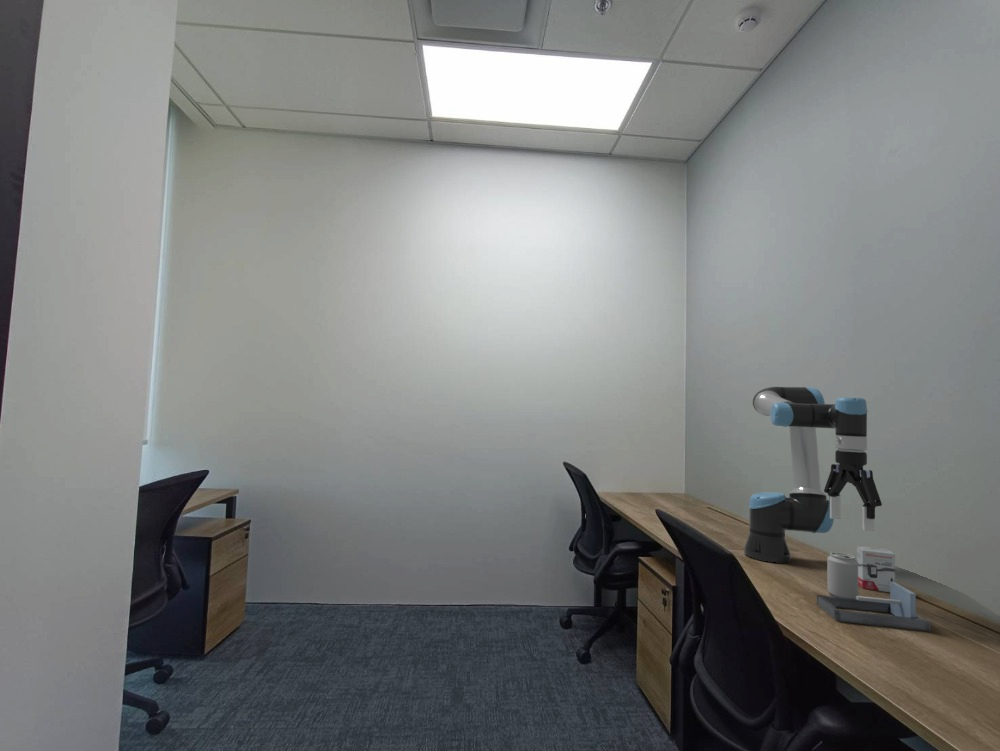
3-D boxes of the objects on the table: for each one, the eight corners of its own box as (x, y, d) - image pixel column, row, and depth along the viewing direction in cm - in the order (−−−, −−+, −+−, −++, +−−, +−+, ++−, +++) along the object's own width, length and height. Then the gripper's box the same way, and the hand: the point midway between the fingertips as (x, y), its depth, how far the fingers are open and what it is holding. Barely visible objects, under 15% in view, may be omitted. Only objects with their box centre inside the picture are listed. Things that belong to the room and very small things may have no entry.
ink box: (861, 588, 152) (861, 549, 153) (856, 583, 157) (856, 545, 158) (896, 593, 149) (895, 553, 150) (889, 588, 154) (889, 549, 155)
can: (863, 602, 141) (863, 559, 141) (834, 599, 142) (834, 556, 143) (850, 593, 148) (850, 552, 149) (822, 590, 150) (822, 549, 150)
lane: (816, 604, 138) (816, 594, 138) (902, 613, 134) (902, 603, 134) (836, 621, 127) (836, 611, 127) (930, 631, 123) (930, 621, 123)
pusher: (848, 607, 135) (848, 577, 136) (895, 612, 133) (895, 582, 134) (866, 621, 127) (865, 589, 127) (916, 626, 125) (915, 594, 125)
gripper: (811, 446, 157) (811, 513, 156) (869, 454, 132) (869, 535, 131) (835, 446, 157) (834, 514, 156) (897, 455, 132) (898, 536, 131)
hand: (850, 524), depth 144 cm, fingers open, 13 cm apart
